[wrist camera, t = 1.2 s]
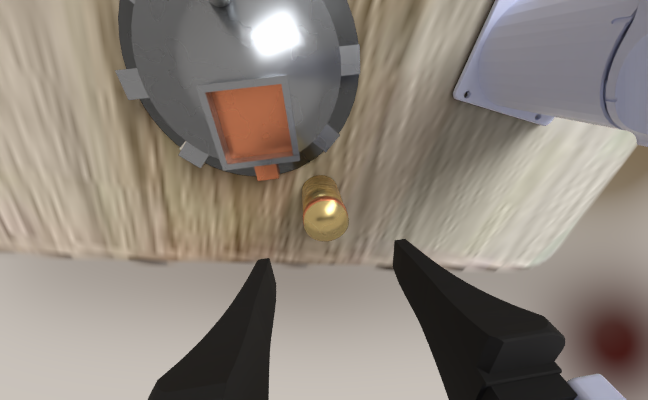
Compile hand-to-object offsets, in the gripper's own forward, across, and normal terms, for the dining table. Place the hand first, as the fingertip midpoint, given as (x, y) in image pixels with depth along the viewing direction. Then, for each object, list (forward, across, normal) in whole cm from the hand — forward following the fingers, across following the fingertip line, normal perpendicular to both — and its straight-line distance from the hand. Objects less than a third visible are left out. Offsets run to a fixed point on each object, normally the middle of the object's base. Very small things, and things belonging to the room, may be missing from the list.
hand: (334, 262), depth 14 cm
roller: (+9, 0, 0) cm, 9 cm away
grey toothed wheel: (+9, +4, -10) cm, 14 cm away
